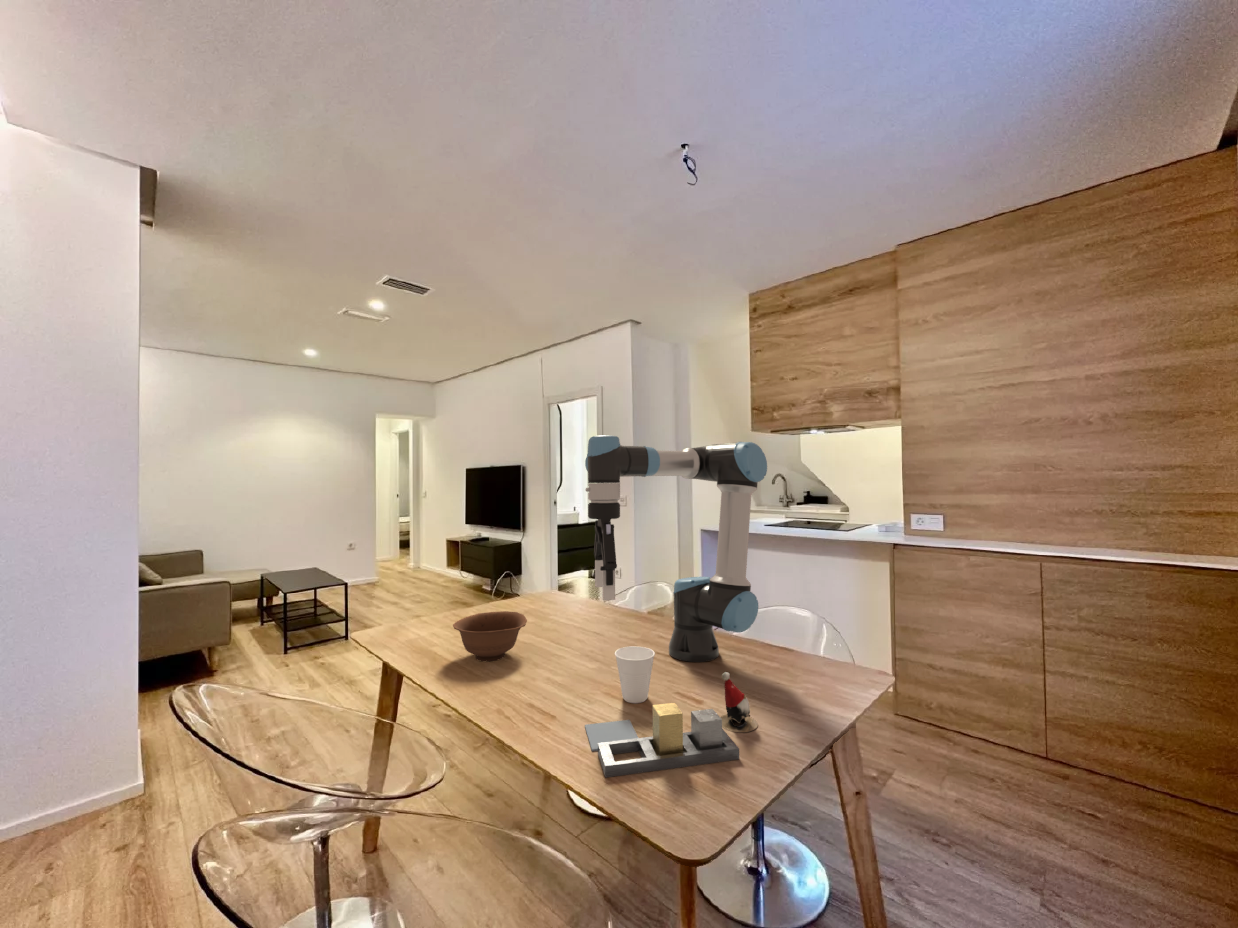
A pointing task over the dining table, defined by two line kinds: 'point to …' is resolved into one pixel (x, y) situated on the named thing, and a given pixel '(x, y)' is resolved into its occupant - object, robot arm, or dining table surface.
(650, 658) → the cup
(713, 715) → the block
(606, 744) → the grey block holder tray
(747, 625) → the robot arm
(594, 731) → the mat
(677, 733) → the block
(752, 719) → the figurine
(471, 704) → the dining table surface
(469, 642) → the bowl
